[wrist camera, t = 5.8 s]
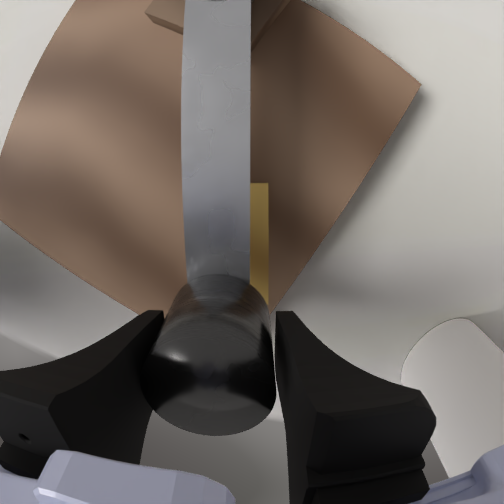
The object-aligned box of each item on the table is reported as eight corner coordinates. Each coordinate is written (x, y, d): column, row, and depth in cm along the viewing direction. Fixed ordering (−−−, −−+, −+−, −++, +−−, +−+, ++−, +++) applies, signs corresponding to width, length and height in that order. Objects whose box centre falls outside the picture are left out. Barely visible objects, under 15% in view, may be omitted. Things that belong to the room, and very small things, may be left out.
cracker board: (234, 348, 19) (231, 380, 16) (0, 203, 16) (-29, 214, 13) (412, 82, 14) (440, 72, 11) (138, -55, 11) (121, -79, 8)
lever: (177, -37, 9) (141, -113, 4) (270, -42, 9) (278, -125, 4) (182, 339, 15) (153, 430, 9) (267, 341, 15) (273, 436, 9)
